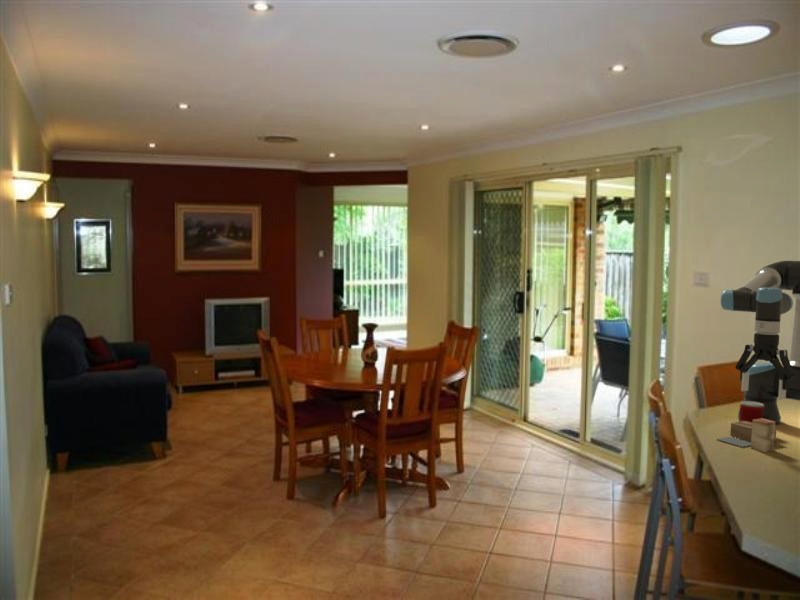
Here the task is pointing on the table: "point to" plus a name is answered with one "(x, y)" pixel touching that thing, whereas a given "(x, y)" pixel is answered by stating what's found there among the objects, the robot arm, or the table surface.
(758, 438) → the block
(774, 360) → the robot arm
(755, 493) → the table surface
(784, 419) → the table surface
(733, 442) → the mat
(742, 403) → the canned food
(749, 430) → the step
